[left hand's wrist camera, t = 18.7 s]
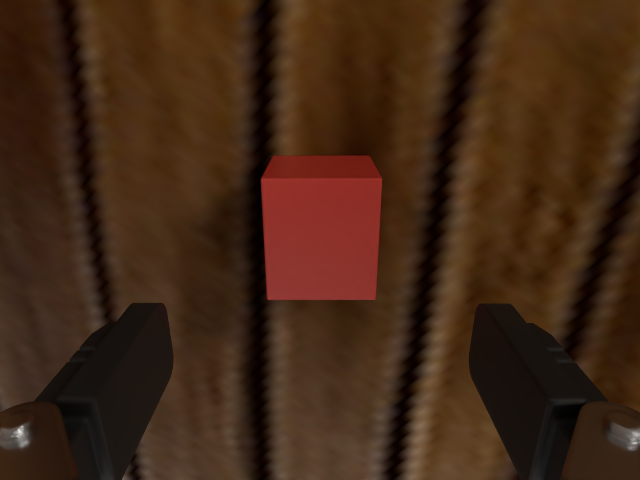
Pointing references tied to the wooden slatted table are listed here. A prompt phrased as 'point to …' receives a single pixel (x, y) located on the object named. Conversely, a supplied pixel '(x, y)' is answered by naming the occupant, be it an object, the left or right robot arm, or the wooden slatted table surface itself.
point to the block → (321, 227)
